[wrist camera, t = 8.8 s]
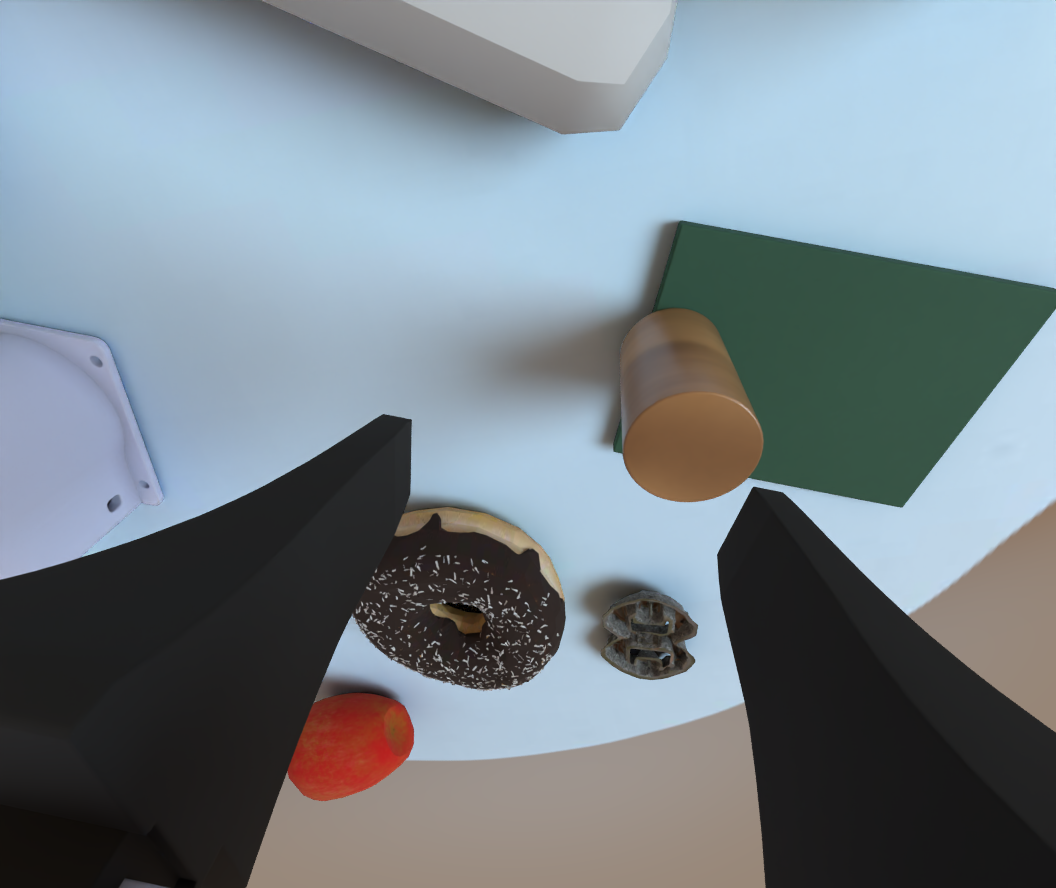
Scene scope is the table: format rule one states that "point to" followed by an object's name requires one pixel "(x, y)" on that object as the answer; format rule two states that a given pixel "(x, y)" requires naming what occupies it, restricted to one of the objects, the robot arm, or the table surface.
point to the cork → (684, 409)
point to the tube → (518, 50)
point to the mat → (851, 352)
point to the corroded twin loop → (648, 636)
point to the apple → (350, 745)
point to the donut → (464, 600)
